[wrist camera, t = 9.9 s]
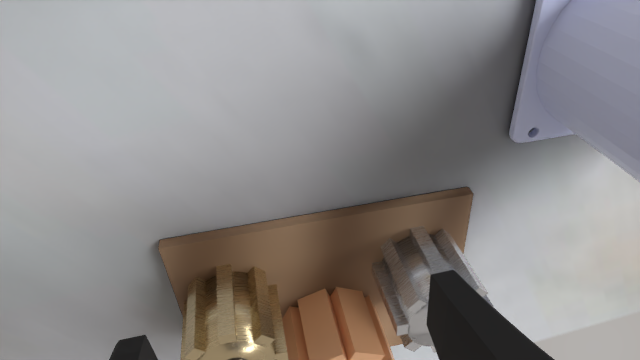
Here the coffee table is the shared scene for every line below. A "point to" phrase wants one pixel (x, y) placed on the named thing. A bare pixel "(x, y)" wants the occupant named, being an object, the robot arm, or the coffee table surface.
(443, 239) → the gear
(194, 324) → the gear
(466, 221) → the gear board
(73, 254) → the coffee table surface
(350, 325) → the idler gear
